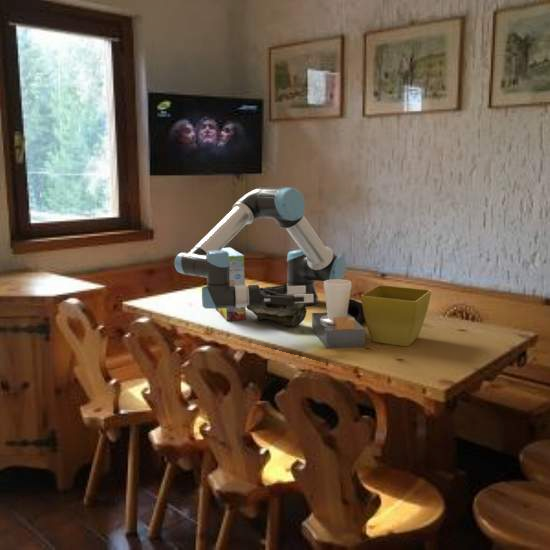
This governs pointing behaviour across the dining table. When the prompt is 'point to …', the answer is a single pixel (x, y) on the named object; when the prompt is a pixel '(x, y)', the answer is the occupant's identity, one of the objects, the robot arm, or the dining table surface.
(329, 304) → the foam cup
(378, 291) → the flower pot
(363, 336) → the block
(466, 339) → the dining table surface
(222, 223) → the robot arm
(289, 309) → the moss-covered rock
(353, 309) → the pipe
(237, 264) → the snack box
